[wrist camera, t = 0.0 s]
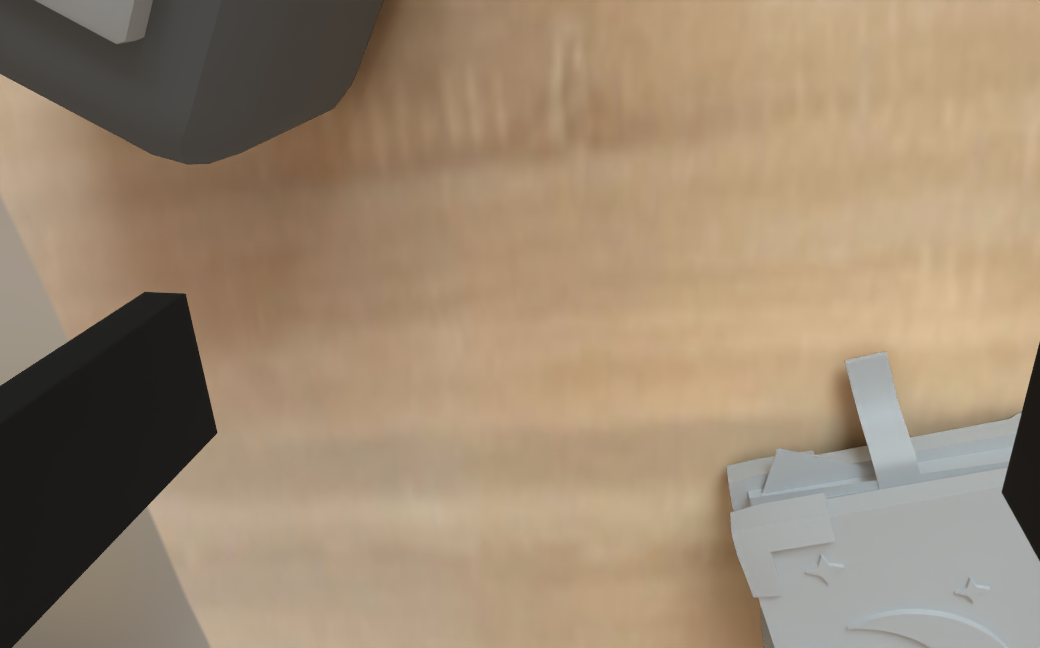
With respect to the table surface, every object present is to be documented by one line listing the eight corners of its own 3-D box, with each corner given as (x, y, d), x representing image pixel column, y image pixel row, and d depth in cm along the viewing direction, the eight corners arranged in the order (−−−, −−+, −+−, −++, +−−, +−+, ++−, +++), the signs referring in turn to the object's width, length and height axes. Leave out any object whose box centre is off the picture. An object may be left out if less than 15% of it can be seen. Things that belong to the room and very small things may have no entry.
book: (1090, 295, 38) (1177, 373, 31) (1145, 722, 47) (1220, 854, 41) (682, 388, 44) (681, 470, 37) (803, 751, 53) (819, 869, 47)
